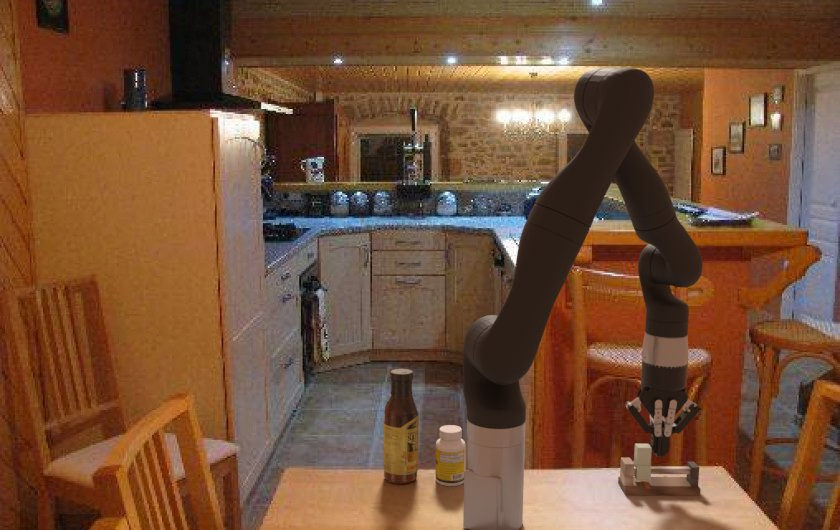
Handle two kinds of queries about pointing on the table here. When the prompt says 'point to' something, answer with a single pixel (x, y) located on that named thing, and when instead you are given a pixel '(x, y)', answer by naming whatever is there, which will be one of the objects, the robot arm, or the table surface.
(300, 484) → the table surface
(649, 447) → the white upright block
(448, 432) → the supplement bottle
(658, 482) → the board
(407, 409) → the sauce bottle
